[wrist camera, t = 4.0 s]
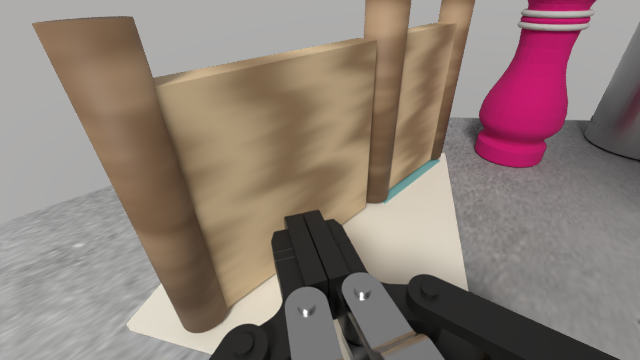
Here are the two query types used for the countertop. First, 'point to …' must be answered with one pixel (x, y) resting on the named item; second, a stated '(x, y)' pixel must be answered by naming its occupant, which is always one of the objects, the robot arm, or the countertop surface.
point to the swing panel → (218, 150)
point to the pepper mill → (532, 85)
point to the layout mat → (370, 244)
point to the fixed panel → (411, 87)
